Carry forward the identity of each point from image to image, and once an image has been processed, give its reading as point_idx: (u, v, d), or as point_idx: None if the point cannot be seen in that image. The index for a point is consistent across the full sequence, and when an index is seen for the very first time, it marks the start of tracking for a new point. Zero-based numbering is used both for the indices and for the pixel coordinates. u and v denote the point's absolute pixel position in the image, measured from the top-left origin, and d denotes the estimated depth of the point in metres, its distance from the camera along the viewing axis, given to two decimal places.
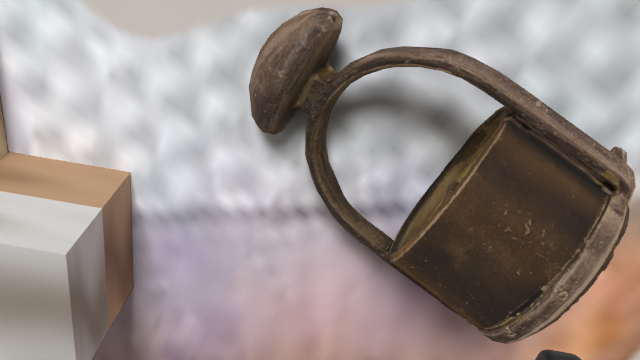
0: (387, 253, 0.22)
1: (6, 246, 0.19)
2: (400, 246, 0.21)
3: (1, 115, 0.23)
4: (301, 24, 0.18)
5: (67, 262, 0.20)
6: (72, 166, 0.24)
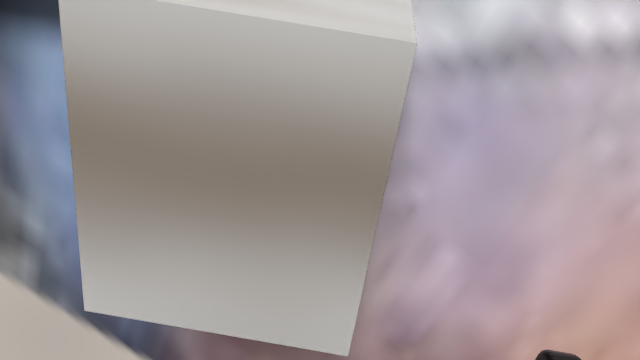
0: None
1: (274, 25, 0.08)
2: None
3: None
4: None
5: (410, 66, 0.08)
6: None
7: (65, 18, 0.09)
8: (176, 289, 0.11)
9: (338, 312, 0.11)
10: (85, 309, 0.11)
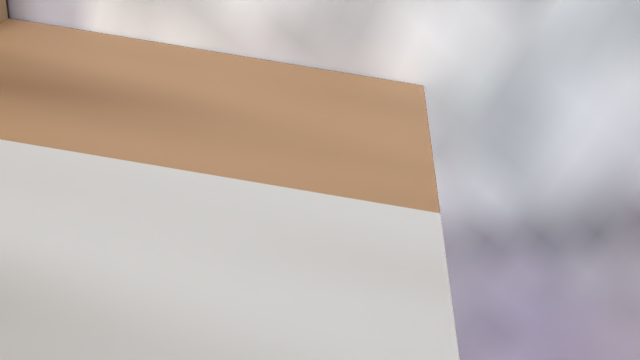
0: None
1: None
2: None
3: None
4: None
5: None
6: (229, 64, 0.07)
7: None
8: None
9: None
10: None
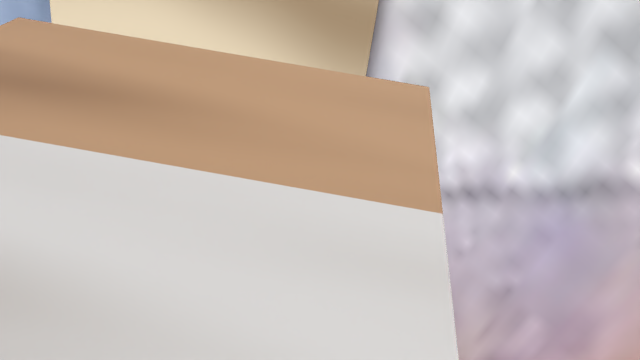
0: None
1: None
2: None
3: None
4: None
5: None
6: (235, 65, 0.07)
7: None
8: None
9: None
10: None
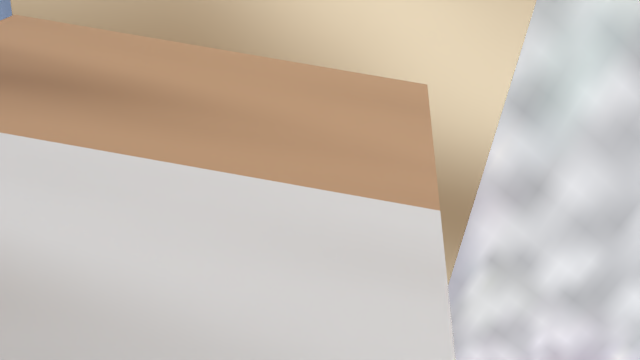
0: None
1: None
2: None
3: None
4: None
5: None
6: (232, 61, 0.07)
7: None
8: None
9: None
10: None
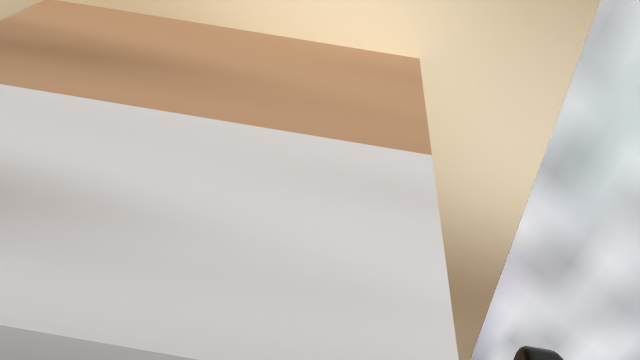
0: None
1: (86, 352, 0.03)
2: None
3: None
4: None
5: None
6: (245, 39, 0.08)
7: None
8: None
9: None
10: None
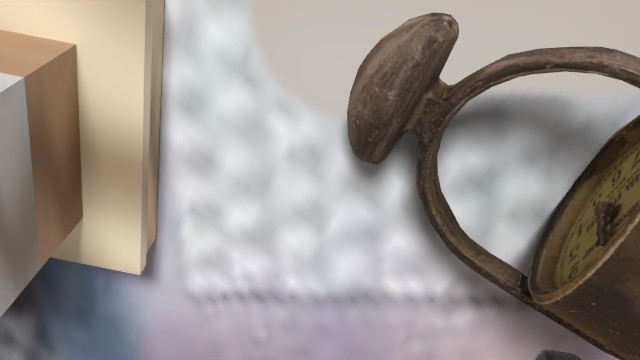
0: (520, 289, 0.19)
1: None
2: (539, 282, 0.18)
3: (157, 189, 0.21)
4: (412, 34, 0.15)
5: None
6: None
7: None
8: None
9: None
10: None
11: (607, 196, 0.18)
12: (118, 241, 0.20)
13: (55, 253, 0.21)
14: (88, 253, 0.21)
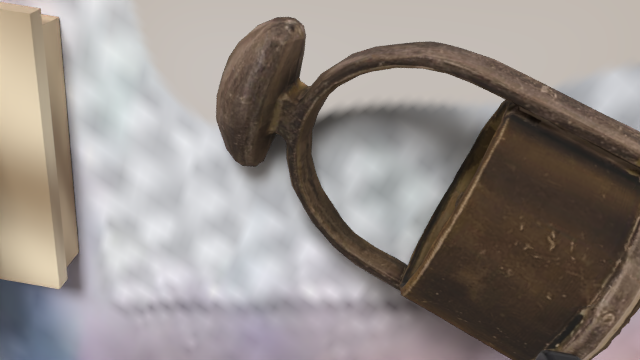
0: None
1: None
2: (413, 274, 0.18)
3: (73, 205, 0.22)
4: (256, 40, 0.16)
5: None
6: None
7: None
8: None
9: None
10: None
11: None
12: (35, 257, 0.21)
13: None
14: (8, 269, 0.22)
